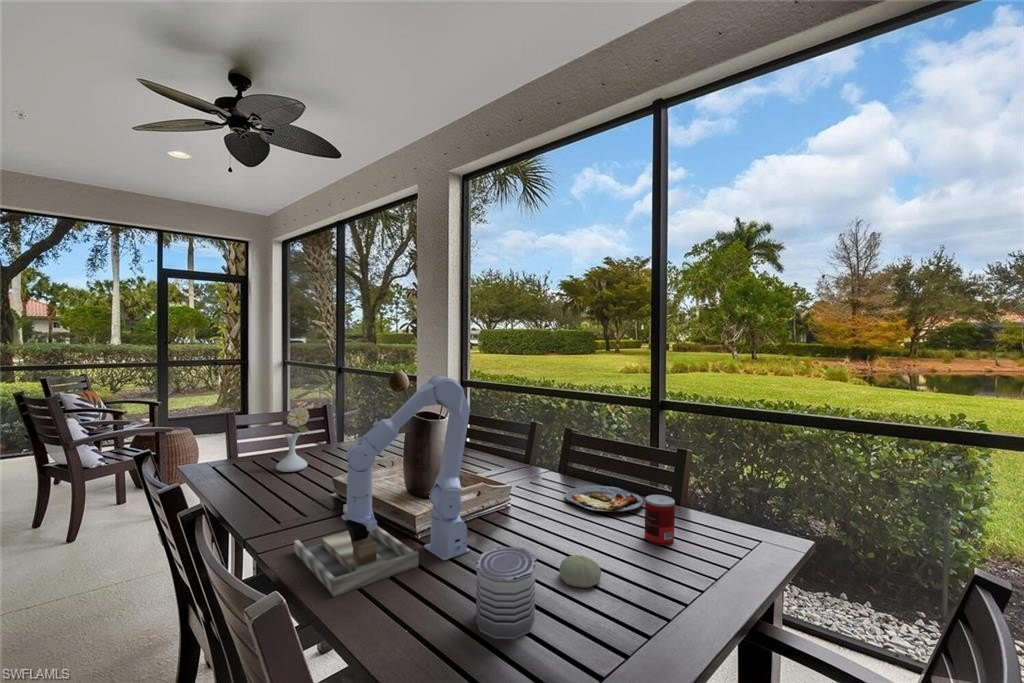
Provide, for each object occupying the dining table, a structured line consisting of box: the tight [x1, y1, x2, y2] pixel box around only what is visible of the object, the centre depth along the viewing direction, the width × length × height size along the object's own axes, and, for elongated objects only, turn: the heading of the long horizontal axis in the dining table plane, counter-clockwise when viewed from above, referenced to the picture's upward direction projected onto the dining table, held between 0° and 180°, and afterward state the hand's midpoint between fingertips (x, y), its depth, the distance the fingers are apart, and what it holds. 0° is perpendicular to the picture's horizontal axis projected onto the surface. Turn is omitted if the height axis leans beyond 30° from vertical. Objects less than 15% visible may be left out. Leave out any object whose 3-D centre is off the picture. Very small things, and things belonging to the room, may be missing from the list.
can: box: [474, 546, 538, 640], centre depth 91 cm, size 11×11×12 cm
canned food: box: [644, 494, 676, 546], centre depth 129 cm, size 8×8×11 cm
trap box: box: [293, 525, 420, 598], centre depth 115 cm, size 26×20×3 cm
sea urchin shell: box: [558, 554, 602, 589], centre depth 107 cm, size 9×8×8 cm
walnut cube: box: [353, 537, 377, 566], centre depth 110 cm, size 4×4×4 cm
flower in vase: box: [275, 406, 310, 473], centre depth 187 cm, size 13×11×25 cm
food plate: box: [564, 485, 645, 513], centre depth 157 cm, size 25×23×4 cm
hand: (358, 550), depth 113 cm, fingers closed
